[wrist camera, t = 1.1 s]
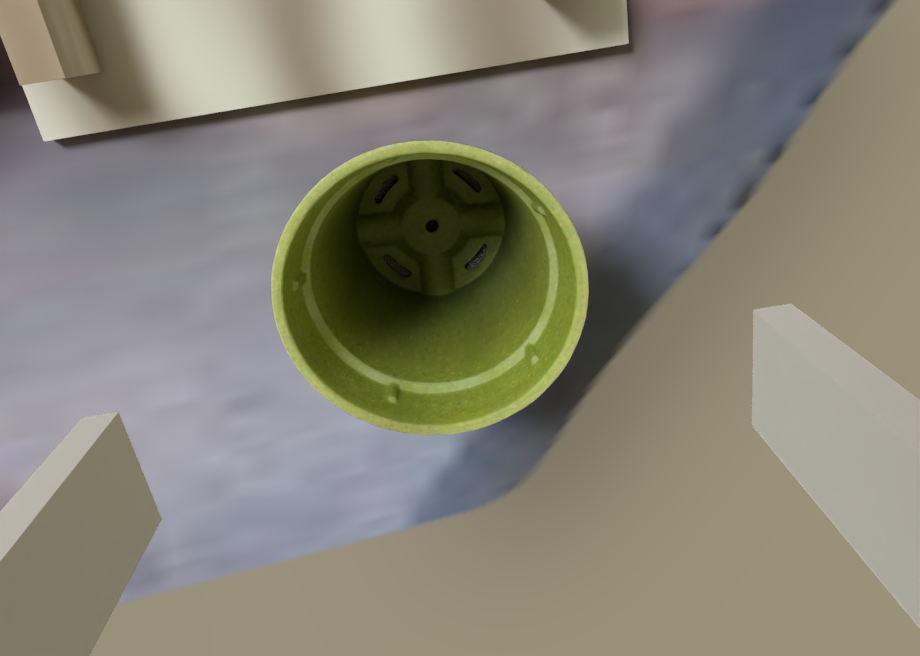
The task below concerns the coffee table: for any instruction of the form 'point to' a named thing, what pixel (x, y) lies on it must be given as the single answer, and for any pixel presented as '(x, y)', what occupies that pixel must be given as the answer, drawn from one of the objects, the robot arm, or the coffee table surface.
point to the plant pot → (430, 288)
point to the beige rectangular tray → (267, 50)
